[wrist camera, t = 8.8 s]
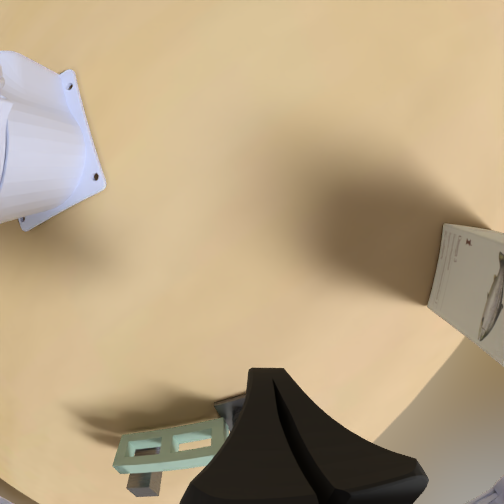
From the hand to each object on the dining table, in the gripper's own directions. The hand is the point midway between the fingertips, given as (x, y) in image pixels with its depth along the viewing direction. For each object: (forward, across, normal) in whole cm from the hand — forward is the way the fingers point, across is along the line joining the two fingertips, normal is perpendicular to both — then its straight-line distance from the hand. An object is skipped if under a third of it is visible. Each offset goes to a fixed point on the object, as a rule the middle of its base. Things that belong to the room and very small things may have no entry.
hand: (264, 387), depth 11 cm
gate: (+9, +5, +13) cm, 17 cm away
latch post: (+10, +8, +18) cm, 22 cm away
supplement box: (+10, -18, -3) cm, 21 cm away
